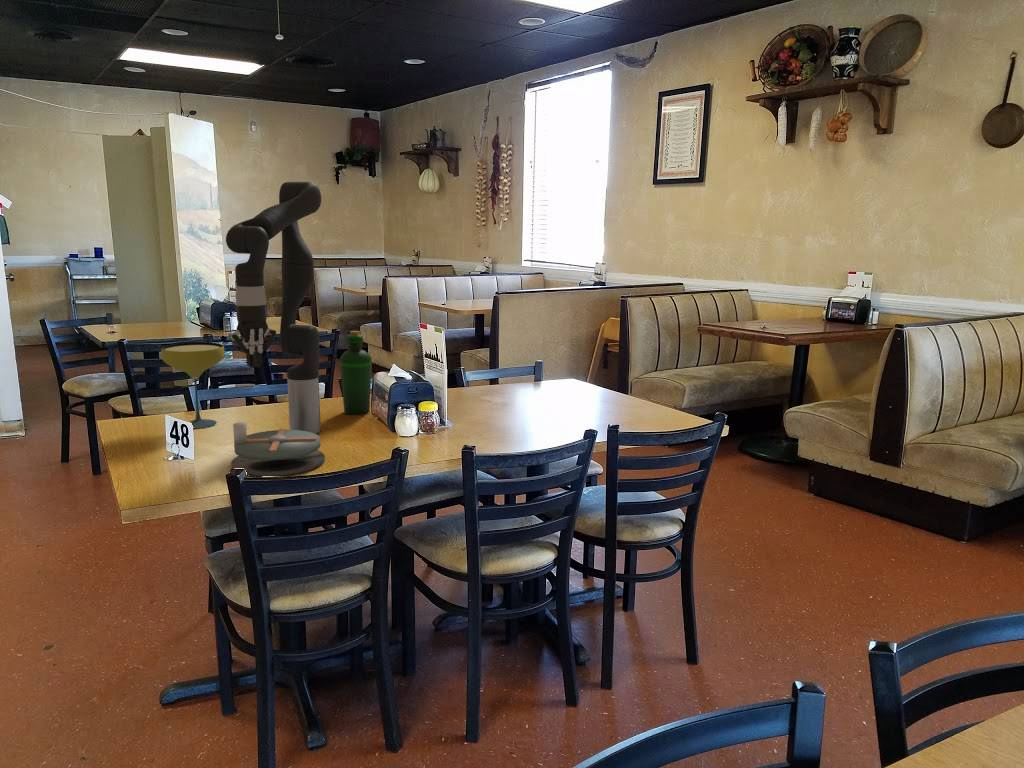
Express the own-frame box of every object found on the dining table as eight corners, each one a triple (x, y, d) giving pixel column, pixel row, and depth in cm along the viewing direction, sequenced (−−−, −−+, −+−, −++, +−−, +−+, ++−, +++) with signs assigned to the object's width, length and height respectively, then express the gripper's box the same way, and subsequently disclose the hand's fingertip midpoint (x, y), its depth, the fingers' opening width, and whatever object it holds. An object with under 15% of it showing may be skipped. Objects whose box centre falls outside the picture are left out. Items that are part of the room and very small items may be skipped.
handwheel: (323, 434, 209) (322, 411, 208) (316, 458, 188) (315, 433, 187) (242, 437, 205) (240, 413, 204) (226, 461, 184) (224, 435, 183)
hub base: (240, 450, 207) (239, 437, 206) (327, 448, 211) (327, 434, 210) (222, 479, 184) (221, 464, 183) (321, 475, 188) (320, 460, 187)
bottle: (370, 407, 258) (368, 328, 252) (374, 415, 249) (373, 333, 243) (339, 409, 255) (337, 329, 249) (342, 417, 245) (340, 334, 239)
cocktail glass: (239, 424, 234) (234, 347, 228) (183, 435, 220) (176, 353, 215) (212, 414, 245) (207, 340, 240) (157, 424, 232) (150, 346, 227)
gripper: (266, 300, 202) (269, 362, 206) (219, 303, 192) (224, 368, 195) (281, 302, 197) (284, 365, 201) (234, 306, 187) (238, 372, 191)
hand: (254, 366), depth 198 cm, fingers closed
